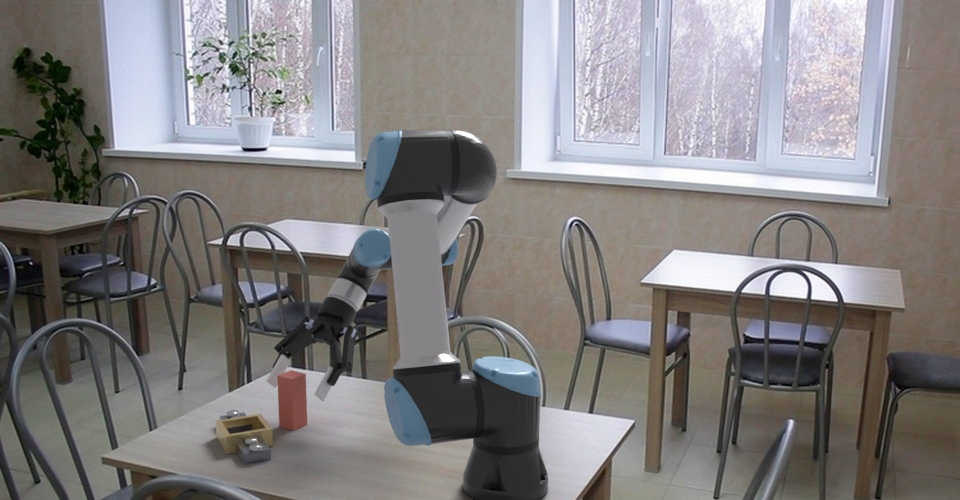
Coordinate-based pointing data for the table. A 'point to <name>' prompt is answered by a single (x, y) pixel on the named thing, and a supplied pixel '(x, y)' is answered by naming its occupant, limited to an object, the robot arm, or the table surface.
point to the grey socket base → (245, 436)
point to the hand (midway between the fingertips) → (294, 391)
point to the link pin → (292, 400)
